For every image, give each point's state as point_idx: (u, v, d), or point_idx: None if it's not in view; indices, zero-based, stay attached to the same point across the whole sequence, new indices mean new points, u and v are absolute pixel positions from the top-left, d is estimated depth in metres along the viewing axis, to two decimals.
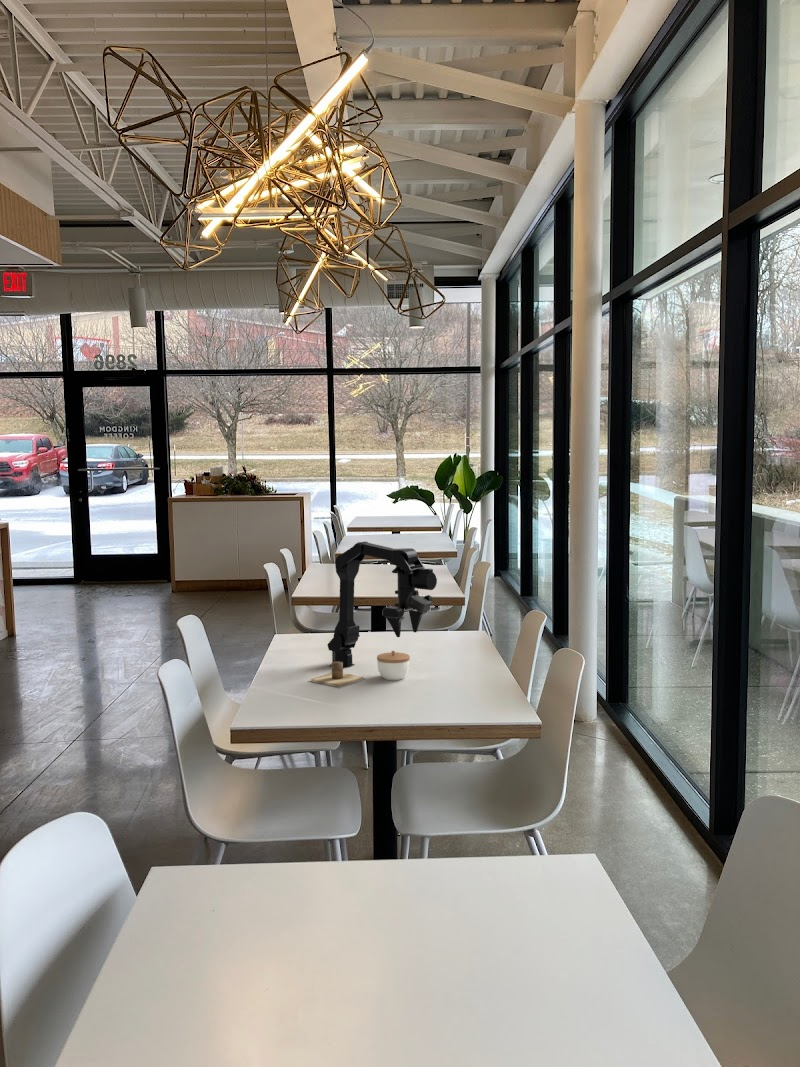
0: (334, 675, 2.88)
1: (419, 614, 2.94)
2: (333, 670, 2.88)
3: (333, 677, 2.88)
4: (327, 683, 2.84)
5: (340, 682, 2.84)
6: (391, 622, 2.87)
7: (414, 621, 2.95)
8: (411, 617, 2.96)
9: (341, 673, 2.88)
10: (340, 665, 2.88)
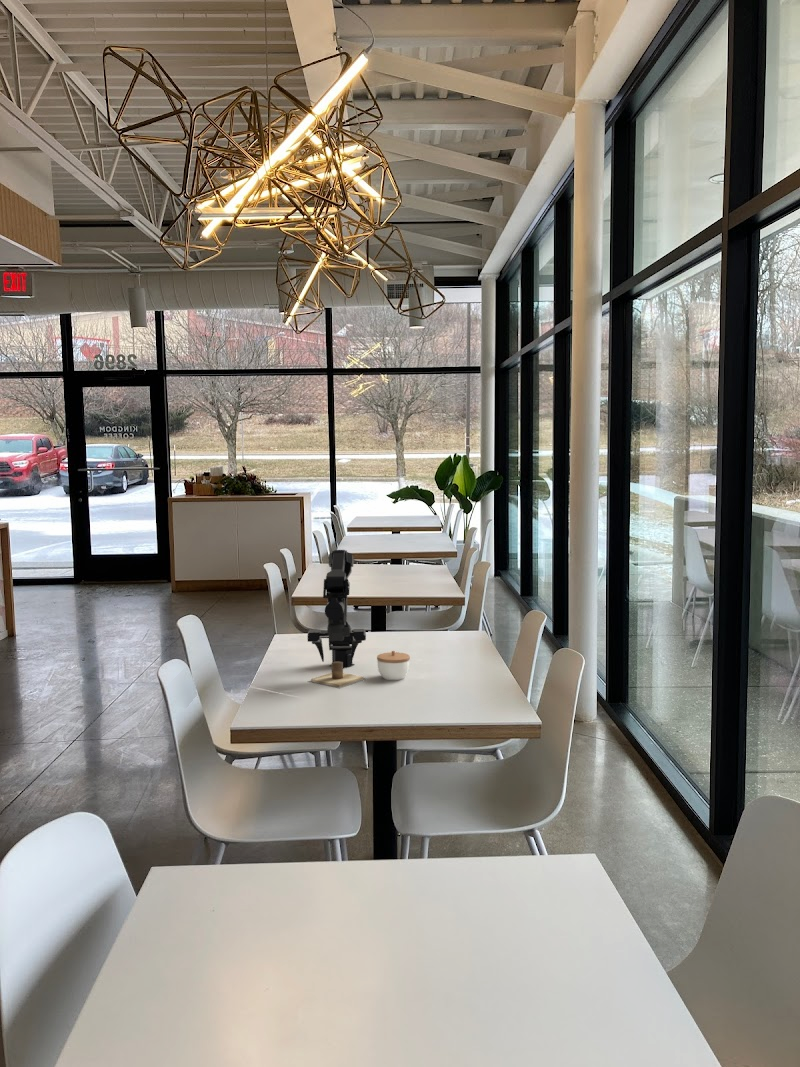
0: (334, 675, 2.88)
1: (352, 643, 2.87)
2: (333, 670, 2.88)
3: (333, 677, 2.88)
4: (327, 683, 2.84)
5: (340, 682, 2.84)
6: None
7: (351, 649, 2.89)
8: None
9: (341, 673, 2.88)
10: (340, 665, 2.88)
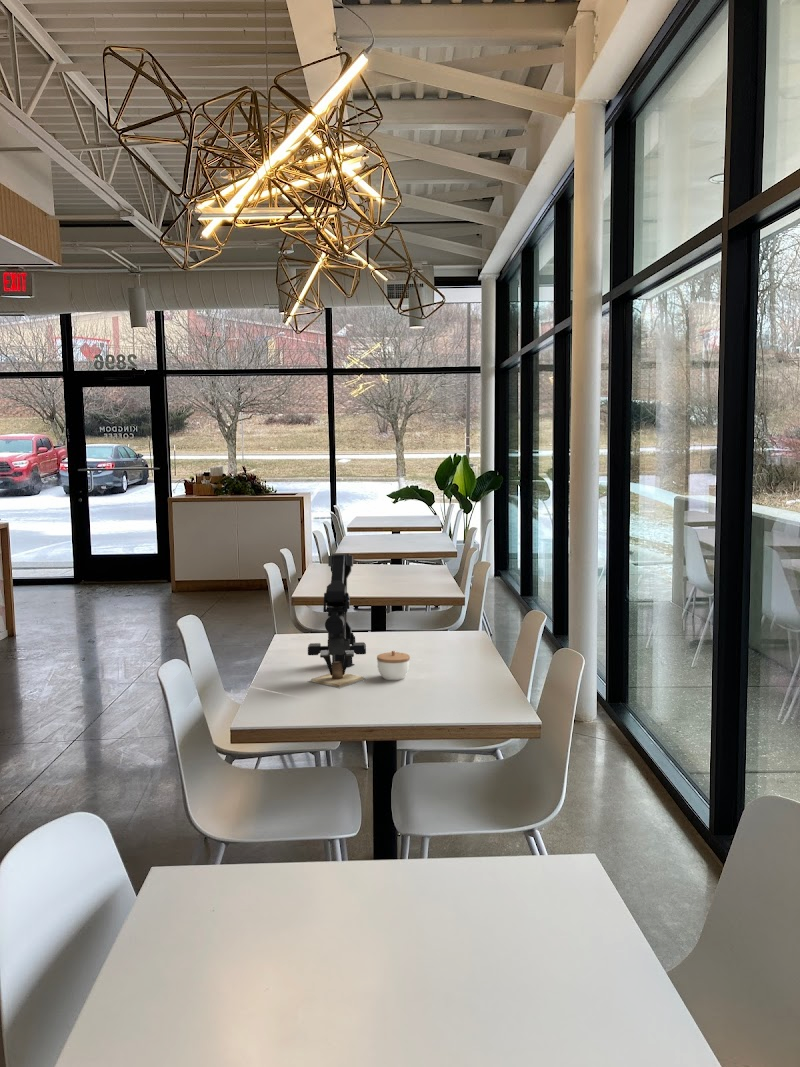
0: (334, 675, 2.88)
1: (344, 657, 2.88)
2: (333, 670, 2.88)
3: (333, 677, 2.88)
4: (327, 683, 2.84)
5: (340, 682, 2.84)
6: None
7: None
8: None
9: (341, 673, 2.88)
10: (340, 665, 2.88)
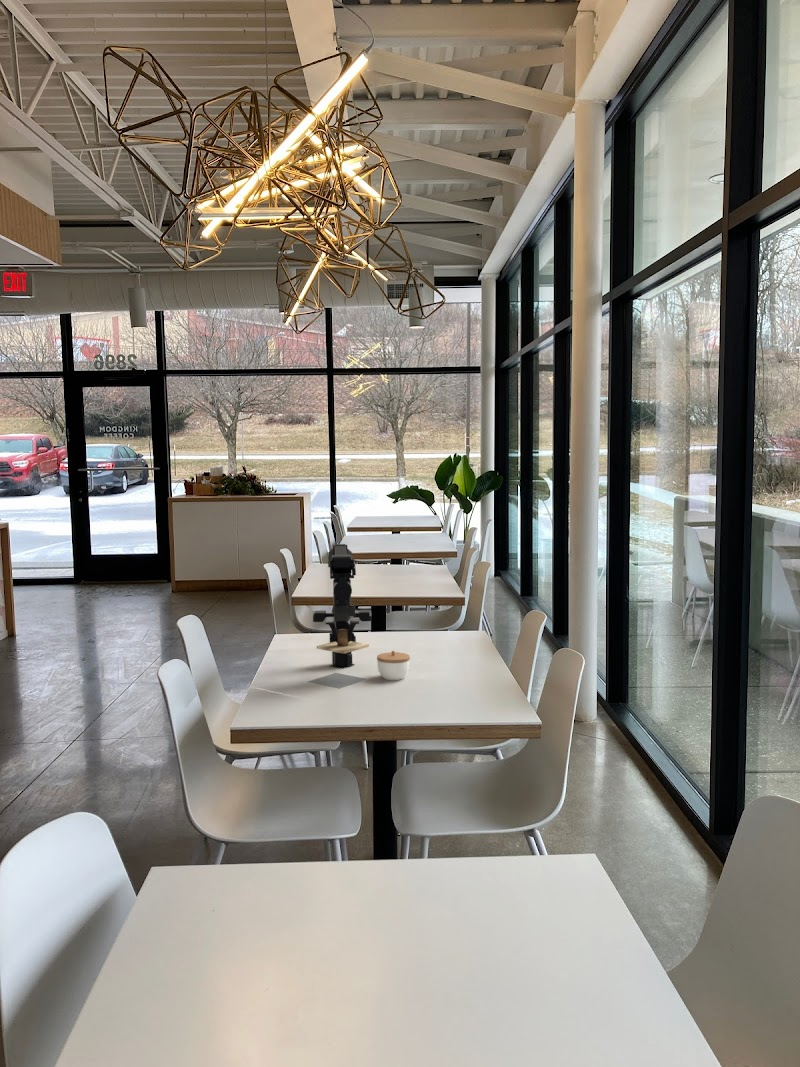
0: (339, 642, 2.87)
1: (349, 624, 2.87)
2: (338, 637, 2.87)
3: (338, 644, 2.88)
4: (332, 650, 2.84)
5: (345, 649, 2.83)
6: None
7: None
8: None
9: (346, 640, 2.88)
10: (345, 632, 2.87)
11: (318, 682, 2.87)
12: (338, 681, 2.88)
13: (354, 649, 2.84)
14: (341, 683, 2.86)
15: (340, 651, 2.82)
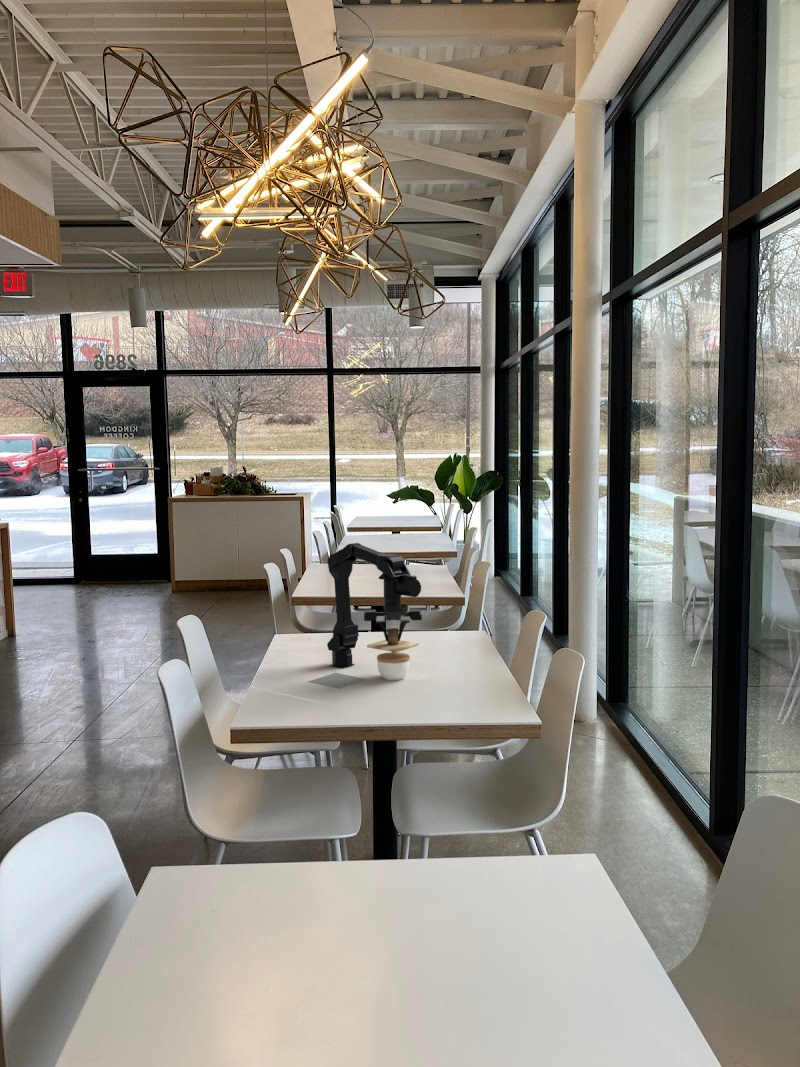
0: (390, 641, 2.89)
1: (400, 623, 2.89)
2: (389, 636, 2.90)
3: (389, 643, 2.90)
4: (384, 649, 2.86)
5: (397, 648, 2.85)
6: None
7: (399, 629, 2.91)
8: (399, 625, 2.92)
9: (397, 639, 2.90)
10: (396, 631, 2.89)
11: (318, 682, 2.87)
12: (338, 681, 2.88)
13: (405, 648, 2.87)
14: (341, 683, 2.86)
15: (392, 650, 2.84)
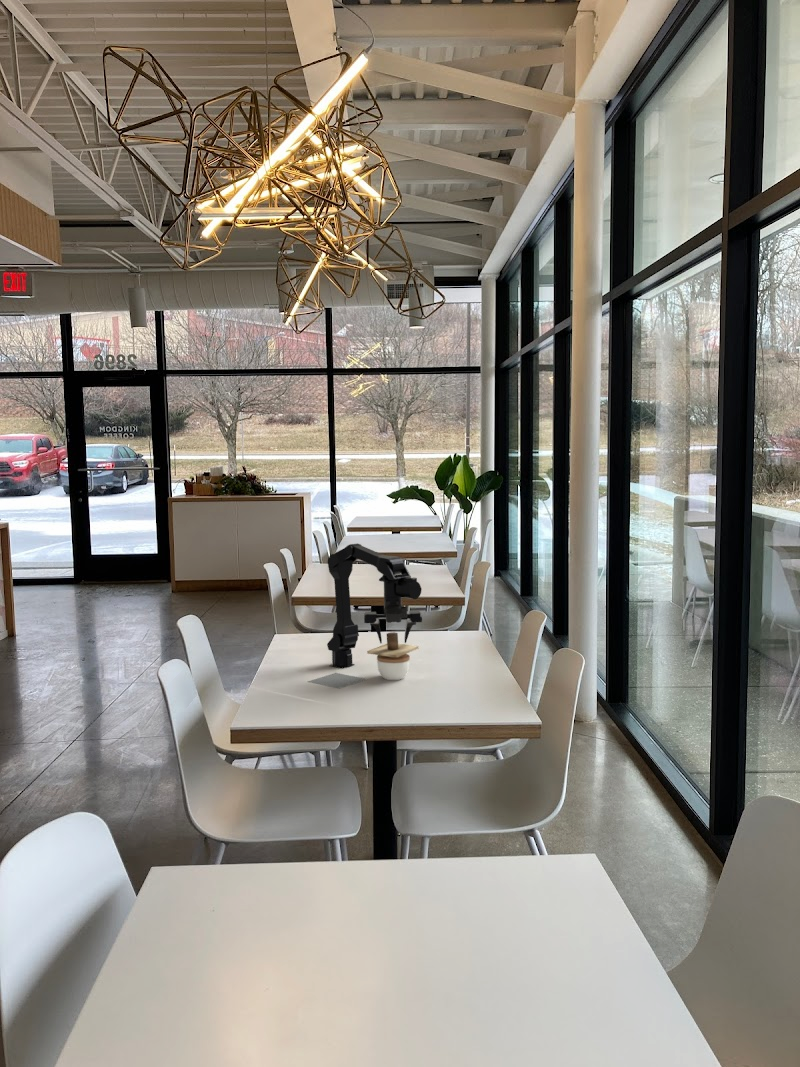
0: (390, 646, 2.90)
1: (406, 625, 2.89)
2: (388, 641, 2.90)
3: (389, 648, 2.90)
4: (384, 654, 2.86)
5: (397, 652, 2.85)
6: None
7: (405, 631, 2.91)
8: None
9: (396, 644, 2.90)
10: (395, 636, 2.89)
11: (318, 682, 2.87)
12: (338, 681, 2.88)
13: (405, 652, 2.87)
14: (341, 683, 2.86)
15: (392, 655, 2.84)
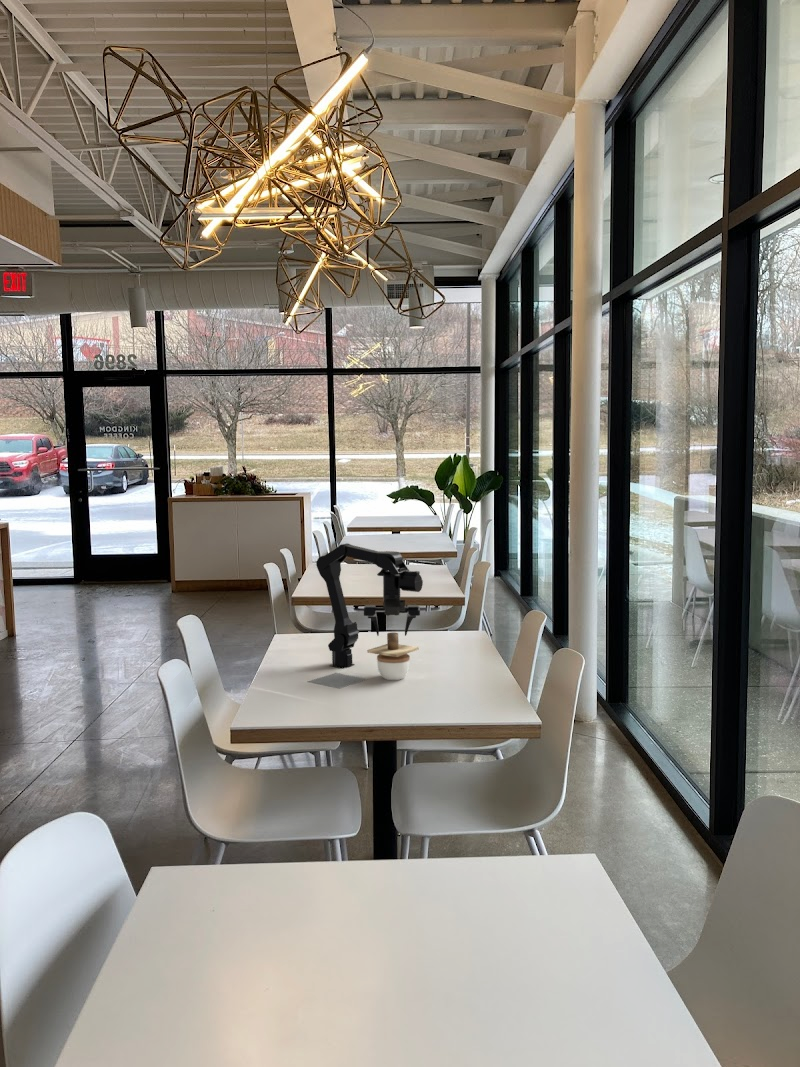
0: (390, 646, 2.90)
1: (406, 618, 2.97)
2: (389, 641, 2.90)
3: (389, 648, 2.90)
4: (384, 653, 2.86)
5: (397, 652, 2.86)
6: None
7: None
8: None
9: (397, 644, 2.90)
10: (396, 636, 2.89)
11: (318, 682, 2.87)
12: (338, 681, 2.88)
13: (405, 652, 2.87)
14: (341, 683, 2.86)
15: (392, 655, 2.84)
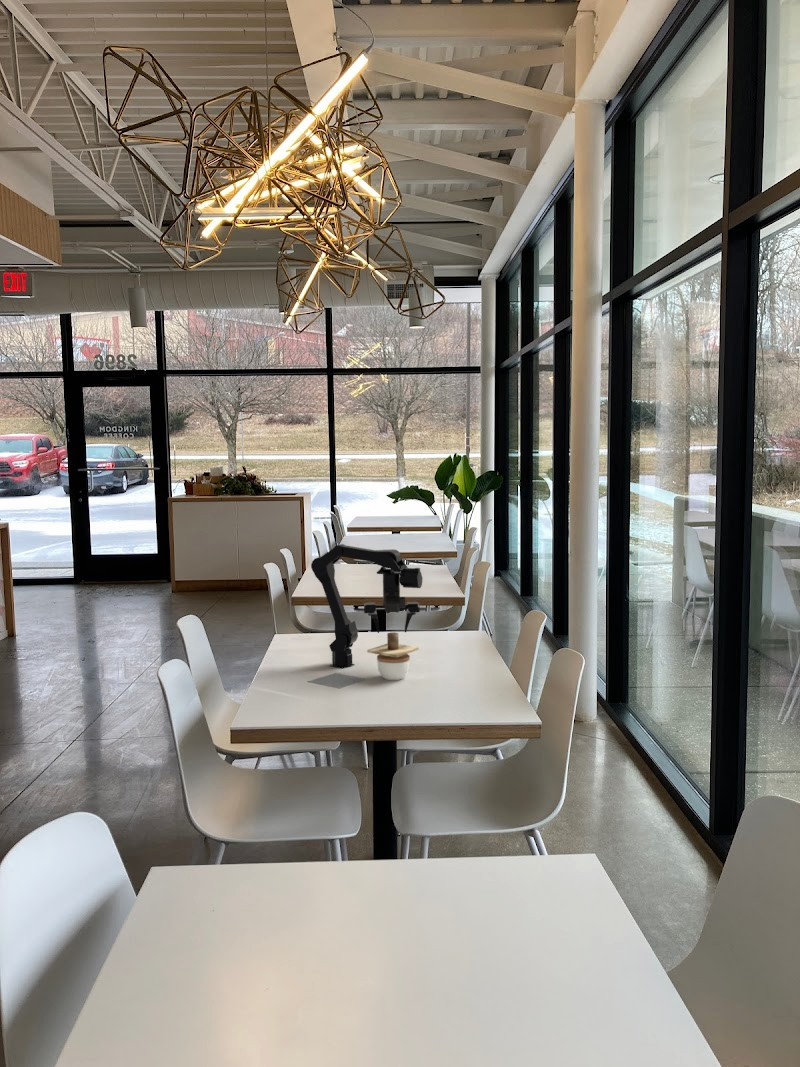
0: (390, 646, 2.90)
1: (406, 615, 3.01)
2: (389, 641, 2.90)
3: (389, 648, 2.90)
4: (384, 654, 2.86)
5: (397, 652, 2.86)
6: None
7: (405, 621, 3.03)
8: None
9: (397, 644, 2.90)
10: (396, 636, 2.89)
11: (318, 682, 2.87)
12: (338, 681, 2.88)
13: (405, 653, 2.87)
14: (341, 683, 2.86)
15: (392, 655, 2.84)
